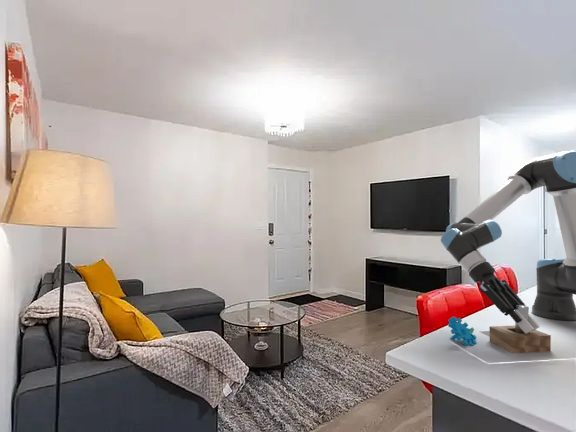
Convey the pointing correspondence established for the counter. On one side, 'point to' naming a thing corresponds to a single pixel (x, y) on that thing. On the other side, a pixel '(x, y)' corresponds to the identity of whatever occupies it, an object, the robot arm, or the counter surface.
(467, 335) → the gear
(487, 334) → the mat
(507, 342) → the hole block
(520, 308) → the peg
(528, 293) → the counter surface
